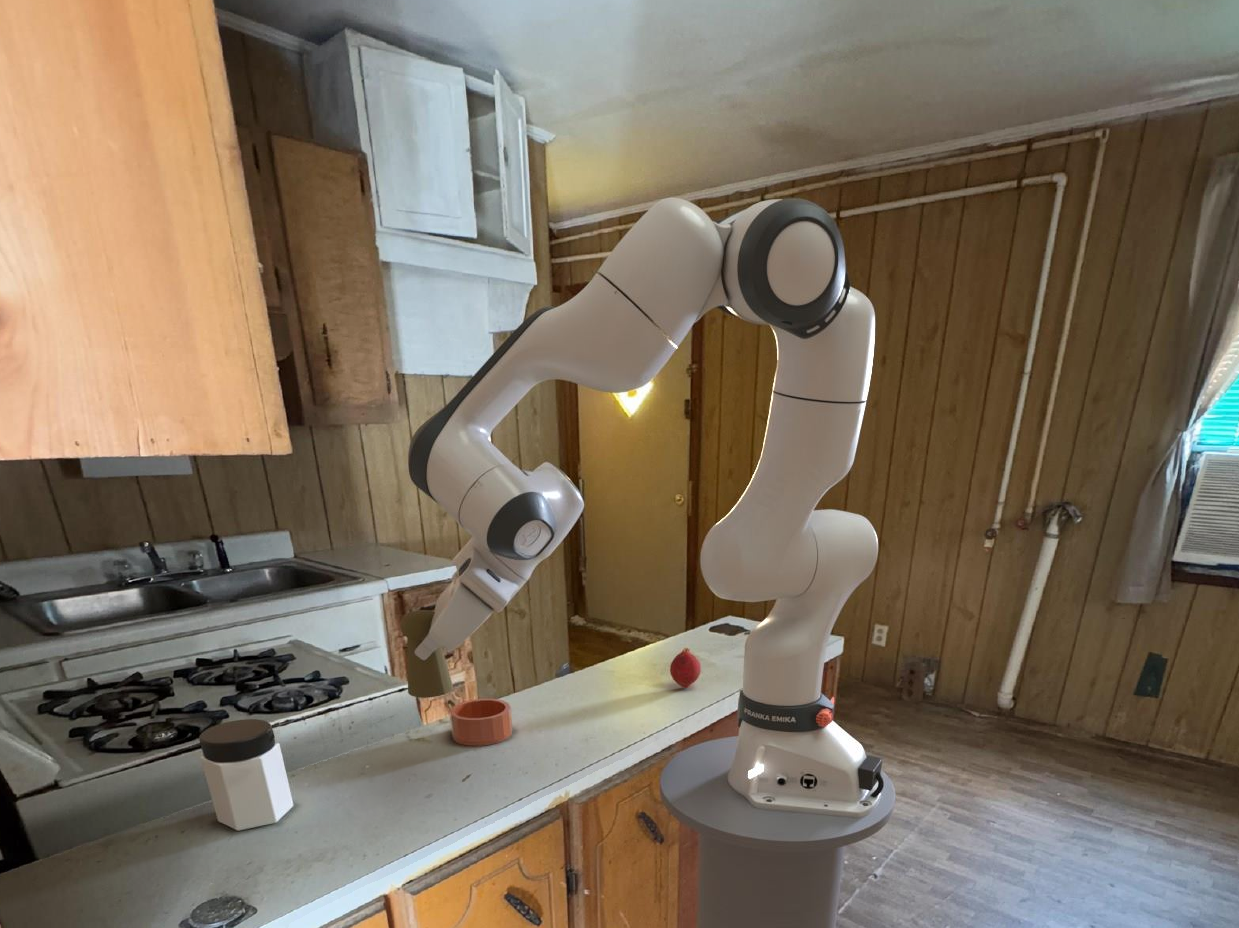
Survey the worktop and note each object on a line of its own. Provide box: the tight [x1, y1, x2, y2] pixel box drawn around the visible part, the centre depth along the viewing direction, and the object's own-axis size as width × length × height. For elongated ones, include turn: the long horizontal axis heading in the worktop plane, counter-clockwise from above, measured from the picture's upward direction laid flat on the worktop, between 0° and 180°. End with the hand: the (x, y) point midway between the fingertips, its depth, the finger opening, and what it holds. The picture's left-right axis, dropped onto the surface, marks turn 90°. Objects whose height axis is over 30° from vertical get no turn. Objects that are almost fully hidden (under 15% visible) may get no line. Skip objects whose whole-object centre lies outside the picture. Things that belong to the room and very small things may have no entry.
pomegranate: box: [669, 646, 702, 689], centre depth 141 cm, size 6×6×8 cm
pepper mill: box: [400, 609, 454, 699], centre depth 100 cm, size 6×6×11 cm
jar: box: [198, 718, 294, 832], centre depth 95 cm, size 9×8×12 cm
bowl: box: [448, 698, 513, 747], centre depth 121 cm, size 10×10×4 cm
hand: (420, 650), depth 99 cm, fingers closed on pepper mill, 4 cm apart
